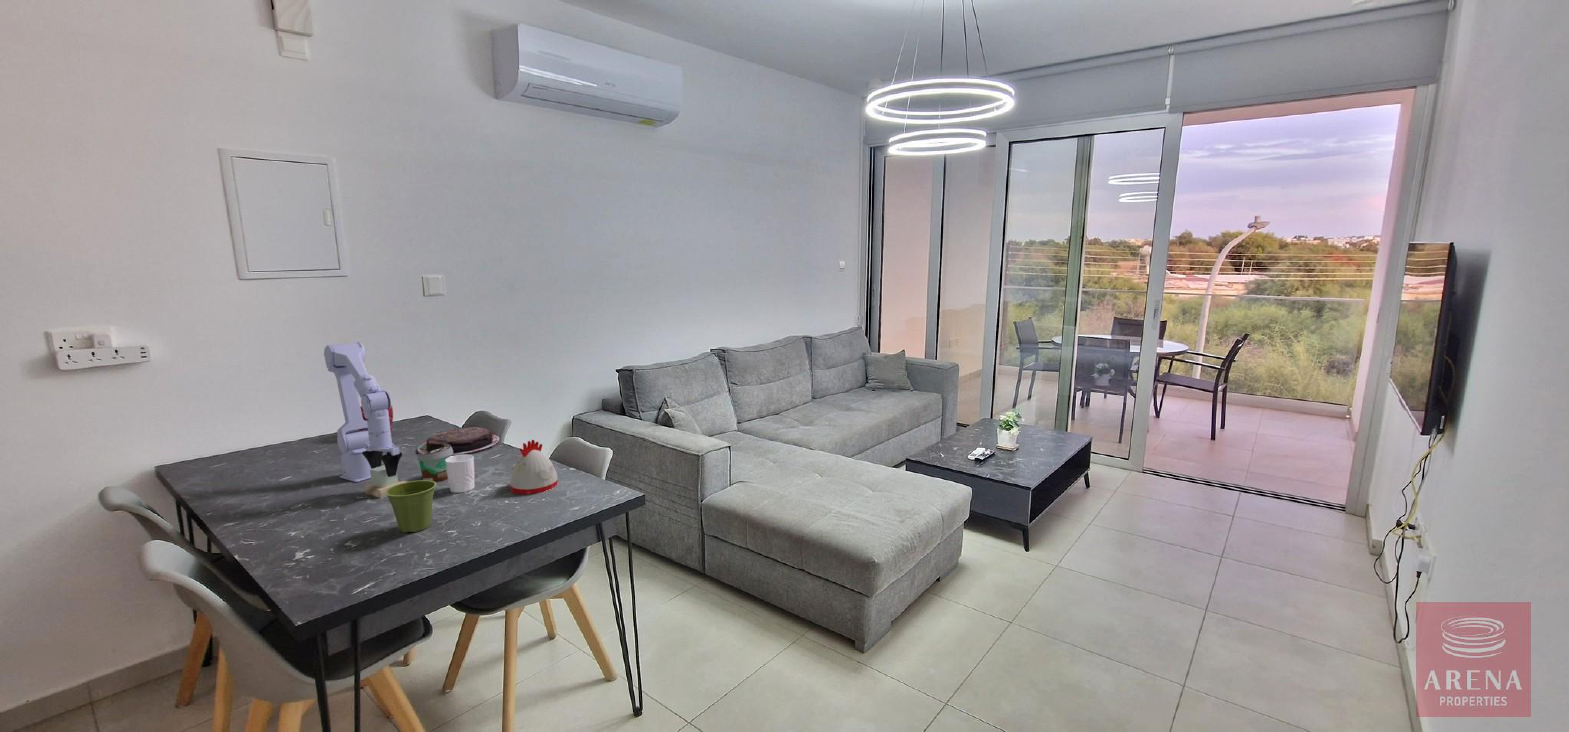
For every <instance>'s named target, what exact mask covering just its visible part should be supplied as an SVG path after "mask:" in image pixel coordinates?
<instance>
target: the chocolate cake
mask: <svg viewBox="0 0 1569 732" xmlns="http://www.w3.org/2000/svg"><path fill="white" fill-rule="evenodd" d="M496 443H498V444H499V443H500V437H499V436H498V435H495V434H492V433H491V431H490V429H487V428H485V427H482V426H476V427H475V426H473V427H472V426H471V427H468V426H467V427H462V428H456V427H455V428H454V429H447V430H440V431H438V432H437V433H435V434H432V435H431V436H430V437H428V438H427V439H426V442H424V443H422V444H421V445H419V446H418V447H417V452H418V454H426V453H428V452H430V451H431V450H435V449H439V448H441V447H444V444H449V445H450V446H451V447H452V449H453V453H452V454H451V456H455V455H462V454H469V455H471V454H470V453H472V454H476V453H479V452H480V451H481V452H484V451H483V450H485V449H486V450H487V449H490V447H491V448H494V447H495V446H496V445H497V444H496ZM493 446H494V447H493ZM486 450H485V451H486Z"/></svg>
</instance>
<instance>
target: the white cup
mask: <svg viewBox="0 0 1569 732" xmlns="http://www.w3.org/2000/svg"><path fill="white" fill-rule="evenodd" d="M445 463H446V470H447V476H448V479H447V480H448V481H447V482H448V485H449V490H450V492H451V493H457V494H458V493H466V492H470V491H472V490H474V488H475V487H476V485H475V458H474V455H473V454H462V455H455V456H451V457H449V458H447V459H445Z"/></svg>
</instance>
